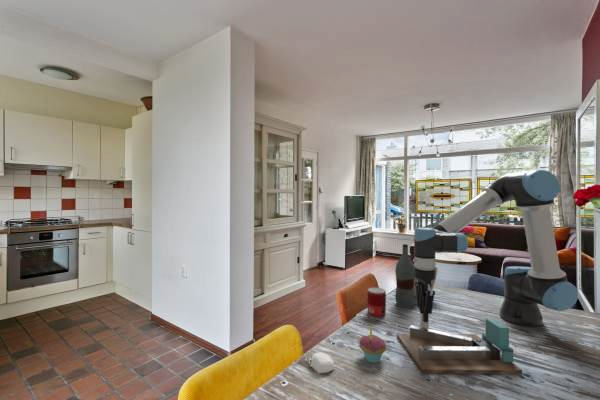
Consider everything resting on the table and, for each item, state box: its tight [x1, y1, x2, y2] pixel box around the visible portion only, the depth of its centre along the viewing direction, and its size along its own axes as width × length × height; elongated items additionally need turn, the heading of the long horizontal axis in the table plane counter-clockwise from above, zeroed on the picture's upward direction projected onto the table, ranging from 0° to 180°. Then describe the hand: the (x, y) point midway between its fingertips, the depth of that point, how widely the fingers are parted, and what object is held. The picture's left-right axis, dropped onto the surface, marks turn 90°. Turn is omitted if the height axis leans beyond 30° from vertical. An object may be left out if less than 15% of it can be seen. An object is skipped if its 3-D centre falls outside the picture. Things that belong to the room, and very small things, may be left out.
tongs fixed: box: [419, 338, 501, 360], centre depth 96 cm, size 25×7×3 cm, turn 90°
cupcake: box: [359, 324, 387, 364], centre depth 95 cm, size 9×8×12 cm
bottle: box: [394, 243, 416, 309], centre depth 143 cm, size 9×9×30 cm
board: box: [396, 333, 523, 375], centre depth 98 cm, size 30×23×1 cm
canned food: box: [367, 287, 387, 318], centre depth 132 cm, size 8×8×11 cm
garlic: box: [309, 351, 335, 374], centre depth 90 cm, size 8×7×4 cm
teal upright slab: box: [481, 318, 514, 363], centre depth 96 cm, size 3×11×10 cm, turn 0°
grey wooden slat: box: [409, 324, 472, 347], centre depth 104 cm, size 20×2×3 cm, turn 60°
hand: (424, 329), depth 111 cm, fingers closed
